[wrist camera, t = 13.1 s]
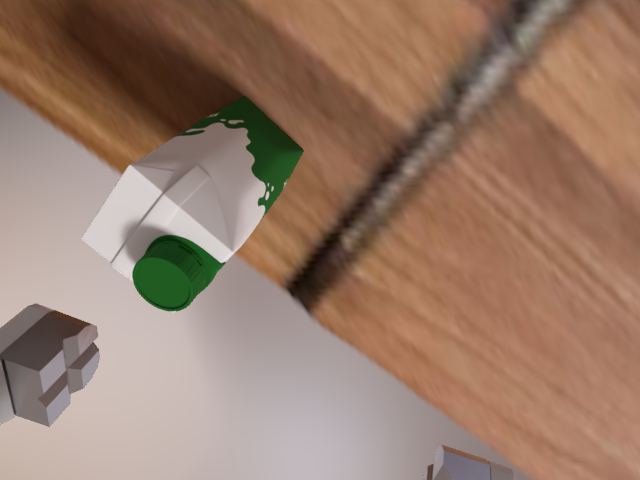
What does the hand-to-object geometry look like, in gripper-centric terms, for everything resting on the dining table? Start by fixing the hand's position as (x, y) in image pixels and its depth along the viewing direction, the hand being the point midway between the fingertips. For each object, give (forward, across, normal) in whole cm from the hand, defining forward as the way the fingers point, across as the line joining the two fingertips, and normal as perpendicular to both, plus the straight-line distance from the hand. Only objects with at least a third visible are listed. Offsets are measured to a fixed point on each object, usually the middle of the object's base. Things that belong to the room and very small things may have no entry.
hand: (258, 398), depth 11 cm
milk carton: (+34, +12, +10) cm, 37 cm away
